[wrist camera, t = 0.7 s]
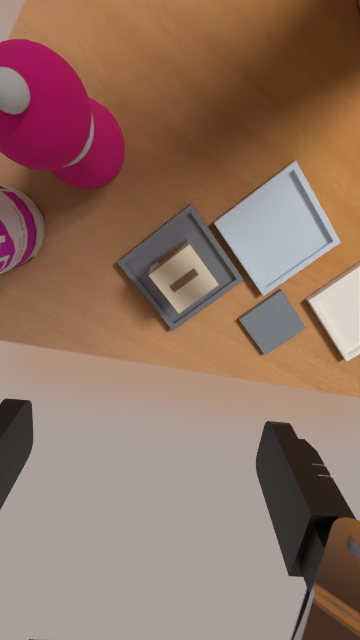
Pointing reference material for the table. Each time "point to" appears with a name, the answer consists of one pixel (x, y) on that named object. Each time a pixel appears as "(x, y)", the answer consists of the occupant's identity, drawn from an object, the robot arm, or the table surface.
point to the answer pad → (272, 322)
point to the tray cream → (340, 311)
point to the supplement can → (18, 228)
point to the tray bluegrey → (277, 229)
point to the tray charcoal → (163, 242)
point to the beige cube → (182, 276)
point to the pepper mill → (54, 118)
